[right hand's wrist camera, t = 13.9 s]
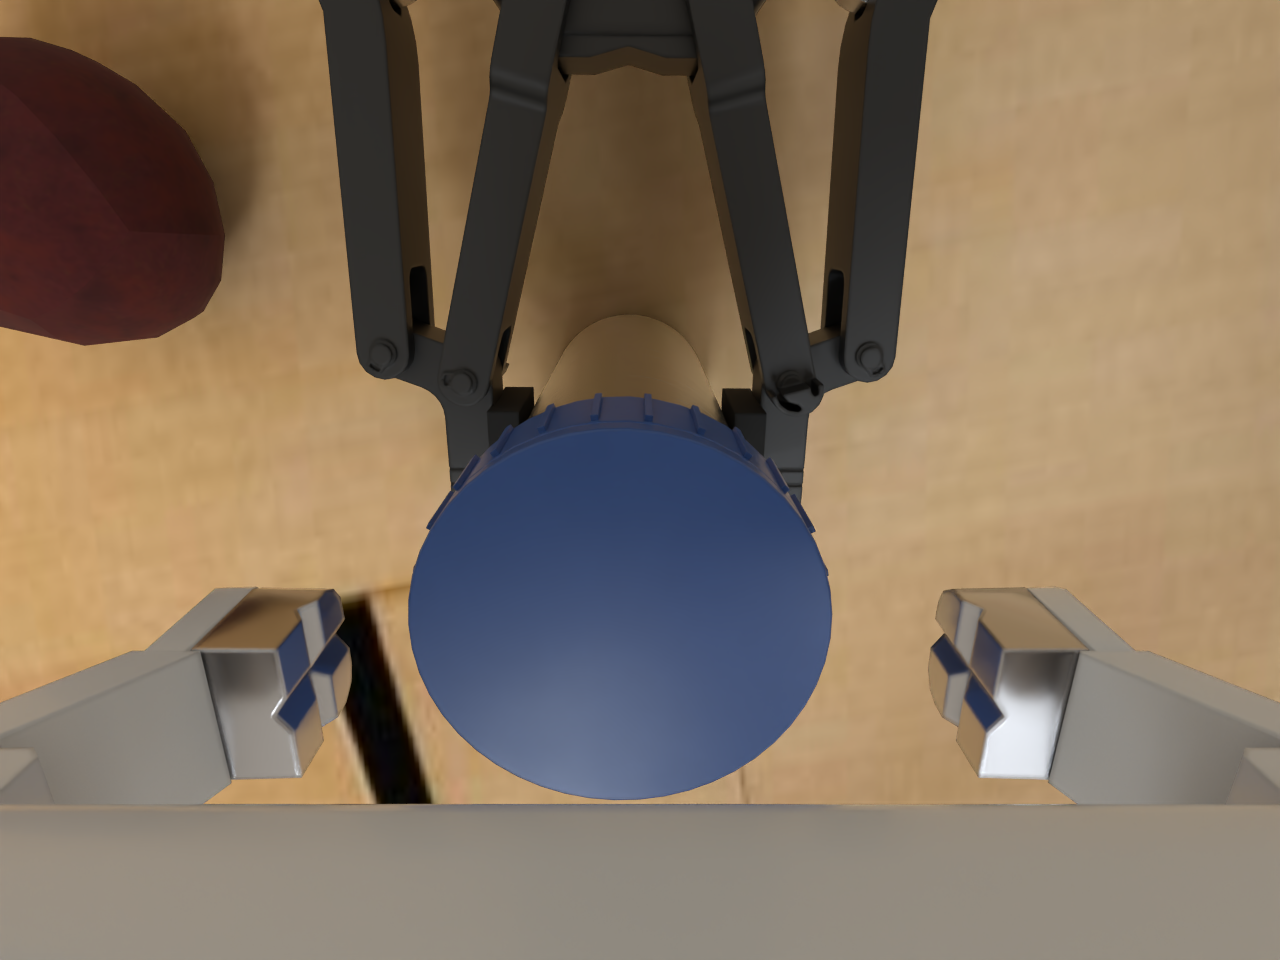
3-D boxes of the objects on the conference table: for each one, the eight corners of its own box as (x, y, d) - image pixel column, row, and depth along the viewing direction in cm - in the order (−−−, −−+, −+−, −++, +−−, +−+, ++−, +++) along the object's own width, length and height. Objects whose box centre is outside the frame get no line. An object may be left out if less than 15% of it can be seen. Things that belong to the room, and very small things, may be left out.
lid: (743, 332, 11) (763, 354, 9) (850, 667, 13) (883, 738, 11) (370, 468, 12) (322, 512, 10) (525, 767, 14) (508, 849, 12)
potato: (123, 10, 21) (-112, -84, 14) (322, 233, 23) (197, 239, 17) (-29, 183, 23) (-305, 169, 16) (171, 377, 25) (0, 436, 18)
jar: (675, 291, 24) (733, 398, 10) (724, 433, 26) (834, 702, 11) (530, 345, 25) (386, 521, 10) (586, 481, 26) (529, 795, 12)
